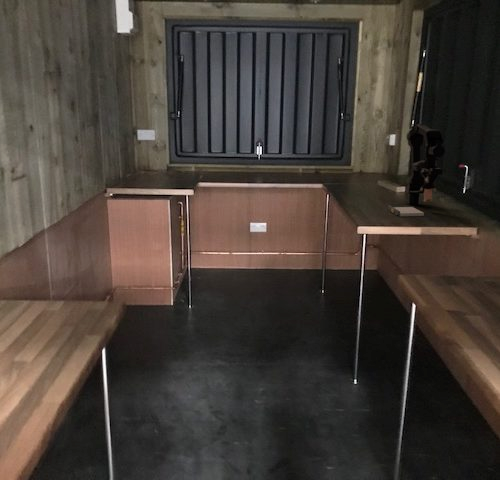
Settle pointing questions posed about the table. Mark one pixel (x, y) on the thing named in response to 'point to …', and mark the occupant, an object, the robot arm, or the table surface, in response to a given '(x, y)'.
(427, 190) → the grandmother figurine
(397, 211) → the display board
